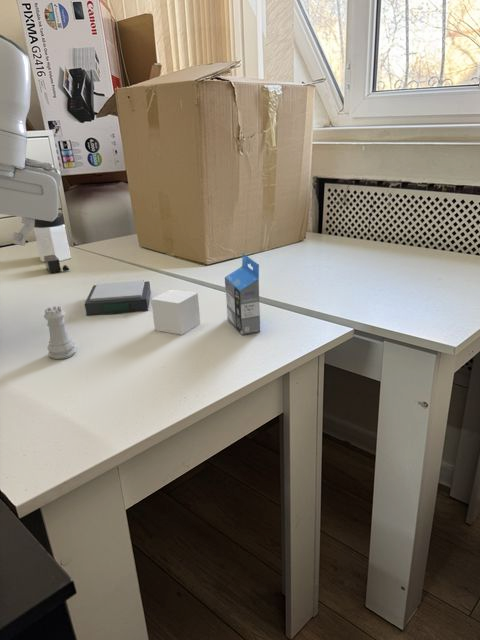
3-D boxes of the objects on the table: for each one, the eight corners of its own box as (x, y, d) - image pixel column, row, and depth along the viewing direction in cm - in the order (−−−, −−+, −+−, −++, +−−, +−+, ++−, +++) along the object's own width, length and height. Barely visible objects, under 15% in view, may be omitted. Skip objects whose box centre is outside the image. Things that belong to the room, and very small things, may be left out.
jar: (33, 262, 140) (23, 218, 135) (49, 254, 147) (40, 212, 142) (63, 262, 138) (54, 217, 133) (77, 254, 146) (69, 212, 140)
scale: (86, 316, 100) (83, 301, 99) (95, 296, 111) (92, 282, 110) (147, 311, 102) (145, 296, 100) (150, 292, 113) (149, 278, 112)
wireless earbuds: (51, 274, 128) (48, 262, 126) (46, 268, 133) (43, 256, 132) (69, 271, 130) (67, 259, 129) (64, 265, 136) (61, 253, 134)
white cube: (200, 323, 95) (197, 292, 92) (182, 335, 90) (178, 303, 88) (174, 318, 98) (170, 289, 95) (154, 330, 93) (150, 298, 90)
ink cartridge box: (226, 318, 97) (222, 255, 91) (245, 315, 98) (242, 252, 93) (241, 335, 89) (237, 267, 84) (261, 332, 90) (259, 264, 85)
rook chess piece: (81, 353, 84) (72, 308, 81) (55, 362, 81) (45, 316, 78) (69, 346, 87) (60, 302, 84) (44, 354, 84) (33, 309, 81)
